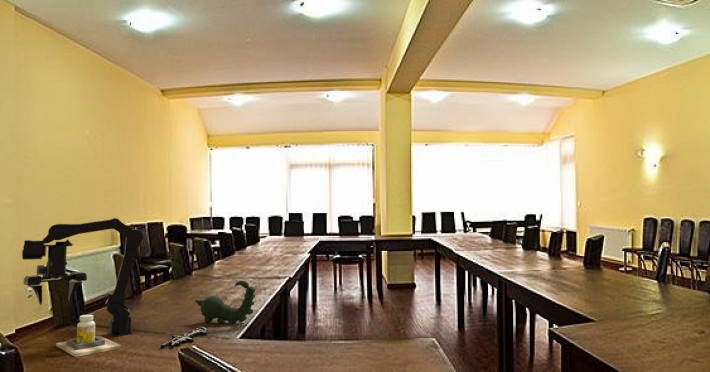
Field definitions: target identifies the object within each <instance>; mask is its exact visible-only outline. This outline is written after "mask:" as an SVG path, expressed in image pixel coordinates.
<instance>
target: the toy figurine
mask: <svg viewBox="0 0 710 372" xmlns="http://www.w3.org/2000/svg"><path fill="white" fill-rule="evenodd" d="M234 286H235V287H237V286H241V287H242V288H244V289H246V290H245V293H244V296H243V297H244V299H243V300H242V301H241V302H242V303H241V305H240V306H239V307H238V308H237V307H234V306H233V307H232V306H231V305H229V304H226V303H224V300H223V299H222V298H221V297H219V296H217V295H209V296H206V298H204V299H196V300H194V302H195V303H196V304H197V305H198V306H199V307H200V311H201V316H203V317H204V319H203V321H204V322H205V323H206V324H210V323H212V322H213V320H214V319H217V323H218V324H223V323H224V322H227V323H228V325H230V326H232V325H233V324H234V323H237V322H239V323H243V322H244V321H247V318H248V317H247V315H248V316H249V315H251V314H253V313H254V310H253V309H252V306H254V305H255V301H253V300H254V299H255V297H256V294H254V293H255V292H256V288H254V287H253V286H252V285H251V286H250V285H249V283H248V282H247V281H246V280H239V281H237V282H235V285H234Z"/></svg>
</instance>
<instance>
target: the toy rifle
mask: <svg viewBox="0 0 710 372" xmlns="http://www.w3.org/2000/svg"><path fill="white" fill-rule="evenodd" d="M207 335H208V328H207V327H205V326H199V327H197V328H196V327H195V328H194V330H189V331H188V333H187V332H186V333H183V335H173V334H172V335H171V339H169V340H167V341H165V342H163V343H161V344H160V349H161V350H162V349H163V350H164V349H166V348H168V347H170V349H174V348H176V347H178V346H179V347H181V345H183V344H188V343H195V342H194V341H195V339H194V337H199V336H207Z"/></svg>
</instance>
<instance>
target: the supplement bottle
mask: <svg viewBox="0 0 710 372" xmlns="http://www.w3.org/2000/svg"><path fill="white" fill-rule="evenodd" d="M95 336H96V322H95V321H94V314H82V315H80V316H79V322H78V323H77V326H76V339H77V344H82V343H88V342H93V341H95Z"/></svg>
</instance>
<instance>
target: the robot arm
mask: <svg viewBox="0 0 710 372" xmlns="http://www.w3.org/2000/svg"><path fill="white" fill-rule="evenodd" d="M106 230H114V231H116V232H118V233H119V234H121V235H122V236H123V237H125V245H124V246H125V248H124V255H123V258H122V262H121V265H120V268H119V272H118V277H117V280H116V284H115V287H114V289H113V290H112V292H111V291H108V296H107V300H106V301H105V306H106V310H107V312H108V314H110V315H112V316H111V317H110V321H109V322H108V323H109V325H108V332H107V333H108V334H109V335H111V336H113V335H114V337H118V335H120V336H124V335H123V334H125V335H129V334H128V333H131V334H133V331H131V330H132V328H131V327H132V315H131V311H130V308H129V307H128V306H126V304H125V301H126V300H125V299H126V288H127V286H128V282H129V278H130V275H131V270H132V267H133V263H134V260H135V255H136V253H137V252H138V249H139V248H140V245H141V243H142V241H143V239H144V234H143V232H142V231H141V230H139V229H138V228H131V227H130V226H128V225H127V224H126V223H124V222H122V221H121V220H120V218H115V217H114V218H111V219H104V220H98V221H91V222H82V223H56V224H54V225H51V226H50V227H49V228H48V231H47V235H46V236H45V237H43V238H42V240H31V239H30V240H29V239H25V240H24V242H23V249H22V251H21V257H22V260H23V261H25V260H26V261H27V260H30V261H32V260H42V259H44V258H43V257H47V261H46V265H44V264H41V265H39V264H38V265H37V266H36V274H34V275H26V276H25V277H24V278H23V285H25V286H27V287H30V288H32V290H33V291H34V293H35V296H36V299H37V302H38V304H39V305H40V306H41V305H42V303H43V285H41V283H48V282H58V281H59V282H60V281H61V282H62V281H68V284H69V288H68V296H67V299H68V301H67V302H71V301H72V299H73V297H74V295H75V292H76V291H77V289H79V288H78V287H79V286H80V285H81V284H83V281H85V282H86V281H87V280H88V275H87V273H85V272H83V271H75V272H70V274H68V273H67V272H66V271H67V265H68V261H67V251H68V247H72V246H73V245H74V243H72V242H71V241H70V240H69V239H68V238H71V237H73V236H76V235H80V234H86V233H88V234H89V233H92V232H93V233H96V232H99V231H100V232H101V231H106ZM64 239H66V240H65V241H62V240H64ZM54 241H55V244H50V243H52V242H54ZM47 247H48V248H47ZM47 249H48V250H47Z"/></svg>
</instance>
